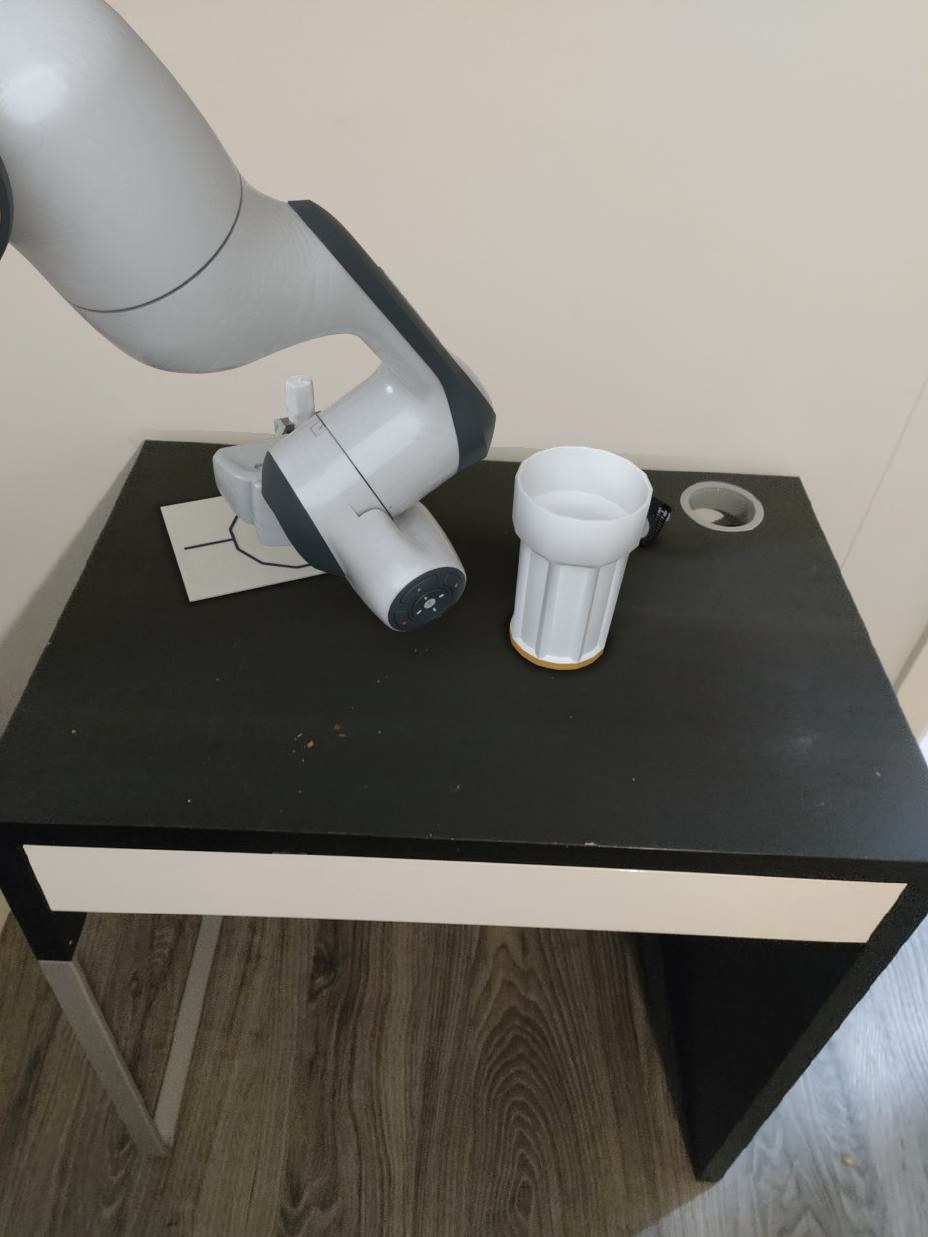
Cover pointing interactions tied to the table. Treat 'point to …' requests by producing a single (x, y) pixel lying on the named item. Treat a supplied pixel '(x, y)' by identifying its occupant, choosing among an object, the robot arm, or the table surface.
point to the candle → (299, 399)
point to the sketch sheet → (226, 551)
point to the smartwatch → (650, 521)
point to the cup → (573, 550)
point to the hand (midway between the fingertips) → (299, 420)
